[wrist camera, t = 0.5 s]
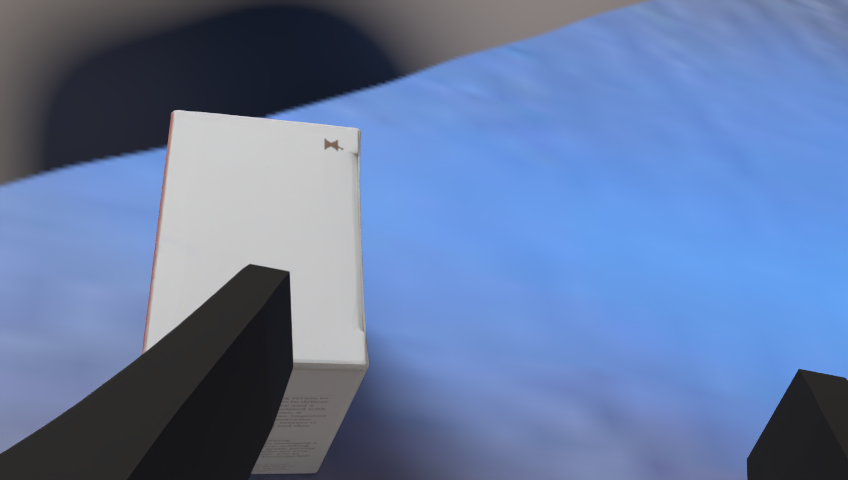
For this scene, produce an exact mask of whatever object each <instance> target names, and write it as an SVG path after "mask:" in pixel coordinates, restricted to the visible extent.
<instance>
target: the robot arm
mask: <svg viewBox="0 0 848 480" xmlns="http://www.w3.org/2000/svg"><path fill="white" fill-rule="evenodd" d="M292 370H293V342H292V315H291V289H290V271H285V270H280V269H275V268H270V267H264V266H259V265H254V264H249V265H247V266H246V267H244V268H243V269H242V270H240V271H239V272H238V273H237V274H236V275H235V276H234V277H233V278H231V279H230V280H229V281H228V282H227V283H226V284H225V285H224V286H222V287H221V288H220V289H219V290H218V291H217V292H216V293H215V294H213V295H212V296H211V297H210V298H209V299H208V300H207V301H206V302H204V303H203V304H202V305H201V306H200V307H199V308H198V309H196V310H195V311H194V312H193V313H192V314H191V315H189V316H188V317H187V318H186V319H185V320H184V321H182V322H181V323H180V324H179V325H178V326H177V327H175V328H174V329H173V330H172V331H170V332H169V333H168V334H167V335H166V336H164V337H163V338H162V339H161V340H159V341H158V342H157V343H156V344H155V345H153V346H152V347H151V348H150V349H148V350H147V351H146V352H145V353H144V354H142V355H141V356H140V357H139V358H137V359H136V360H135V361H134V362H132V363H131V364H130V365H129V366H127V367H126V368H125V369H123V370H122V371H121V372H119V373H118V374H116V375H115V376H114V377H112V378H111V379H110V380H108V381H107V382H106V383H104V384H103V385H102V386H100V387H99V388H98V389H96V390H95V391H94V392H92V393H91V394H90V395H88V396H87V397H86V398H84V399H83V400H82V401H80V402H79V403H77V404H76V405H74V406H73V407H72V408H70V409H69V410H67V411H66V412H64V413H63V414H61V415H60V416H59V417H57V418H56V419H54V420H53V421H51V422H50V423H48V424H47V425H45V426H44V427H42V428H41V429H39V430H38V431H36V432H34V433H33V434H31V435H30V436H28V437H27V438H25V439H23V440H22V441H20V442H19V443H17V444H16V445H14V446H12V447H11V448H9V449H8V450H6V451H4V452H3V453H1V454H0V480H248V478H249V476H250V474H251V472H252V470H253V468H254V466H255V464H256V462H257V460H258V458H259V455H260V453H261V451H262V449H263V447H264V445H265V443H266V441H267V439H268V436H269V434H270V432H271V430H272V428H273V425H274V422H275V419H276V417H277V414H278V411H279V408H280V405H281V403H282V400H283V397H284V394H285V391H286V388H287V385H288V382H289V379H290V376H291V373H292ZM747 477H748V480H848V381H847V379H846V378H843V377H838V376H833V375H828V374H823V373H817V372H812V371H807V370H802V369H799V370H798V372H797V373H796V375H795V377H794V378H793V380H792V382H791V384H790V385H789V387H788V389H787V391H786V392H785V394H784V396H783V398H782V399H781V401H780V403H779V405H778V406H777V408H776V410H775V411H774V413H773V415H772V417H771V418H770V420H769V422H768V424H767V425H766V427H765V429H764V431H763V432H762V434H761V436H760V438H759V439H758V441H757V443H756V445H755V446H754V448H753V450H752V451H751V453H750V455H749V457H748V458H747Z"/></svg>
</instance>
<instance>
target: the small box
mask: <svg viewBox="0 0 848 480" xmlns="http://www.w3.org/2000/svg"><path fill="white" fill-rule="evenodd" d="M360 140H361V131H360V130H359V129H358V128H350V127H341V126H331V125H324V124H313V123H304V122H294V121H284V120H274V119H264V118H253V117H244V116H234V115H225V114H215V113H204V112H188V111H182V110H176V111H173V112H172V113H171V122H170V130H169V138H168V146H167V155H166V162H165V170H164V178H163V186H162V194H161V202H160V211H159V219H158V227H157V235H156V243H155V252H154V260H153V268H152V277H151V285H150V294H149V301H148V309H147V317H146V325H145V334H144V342H143V351H142V354H144V353H145V352H146V351H147V350H148V349H150V348H151V347H152V346H153V345H155V344H156V343H157V342H158V341H159V340H161V339H162V338H163V337H164V336H166V335H167V334H168V333H169V332H170V331H172V330H173V329H174V328H175V327H177V326H178V325H179V324H180V323H181V322H182V321H184V320H185V319H186V318H187V317H188V316H189V315H191V314H192V313H193V312H194V311H195V310H196V309H198V308H199V307H200V306H201V305H202V304H203V303H204V302H206V301H207V300H208V299H209V298H210V297H211V296H212V295H213V294H215V293H216V292H217V291H218V290H219V289H220V288H221V287H222V286H224V285H225V284H226V283H227V282H228V281H229V280H230V279H231V278H233V277H234V276H235V275H236V274H237V273H238V272H239V271H240V270H242V269H243V268H244V267H246V266H247V265H249V264H254V265H259V266H264V267H270V268H275V269H280V270H285V271H290V289H291V315H292V342H293V370H292V373H291V376H290V379H289V382H288V385H287V388H286V391H285V394H284V397H283V400H282V403H281V405H280V408H279V411H278V414H277V417H276V419H275V422H274V425H273V428H272V430H271V432H270V434H269V436H268V439H267V441H266V443H265V445H264V447H263V449H262V451H261V453H260V455H259V458H258V460H257V462H256V464H255V466H254V468H253V470H252V472H251V474H298V473H316V472H318V470H319V468H320V466H321V464H322V462H323V460H324V458H325V456H326V454H327V451H328V449H329V447H330V445H331V443H332V441H333V439H334V437H335V435H336V433H337V431H338V429H339V427H340V425H341V423H342V421H343V419H344V417H345V415H346V413H347V411H348V409H349V407H350V404H351V402H352V400H353V398H354V396H355V394H356V392H357V390H358V388H359V386H360V384H361V382H362V380H363V378H364V376H365V374H366V372H367V370H368V367H369V359H368V351H367V339H366V329H365V314H364V296H363V264H362V241H361V207H360Z"/></svg>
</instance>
